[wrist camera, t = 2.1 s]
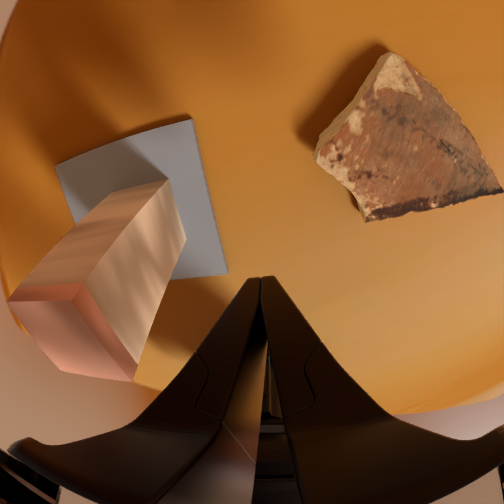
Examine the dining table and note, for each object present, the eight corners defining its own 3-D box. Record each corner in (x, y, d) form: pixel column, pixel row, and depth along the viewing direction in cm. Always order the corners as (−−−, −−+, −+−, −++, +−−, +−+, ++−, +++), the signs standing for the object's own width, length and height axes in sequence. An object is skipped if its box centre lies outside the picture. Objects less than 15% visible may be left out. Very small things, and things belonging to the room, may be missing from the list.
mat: (228, 270, 18) (227, 274, 18) (107, 282, 19) (105, 285, 19) (192, 118, 13) (191, 119, 13) (57, 164, 14) (54, 166, 14)
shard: (490, 182, 14) (507, 193, 12) (422, 266, 19) (434, 283, 17) (382, 48, 11) (399, 44, 9) (293, 166, 15) (298, 177, 13)
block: (186, 239, 17) (132, 381, 8) (132, 247, 17) (60, 370, 9) (168, 178, 15) (71, 300, 6) (111, 192, 15) (6, 301, 7)
